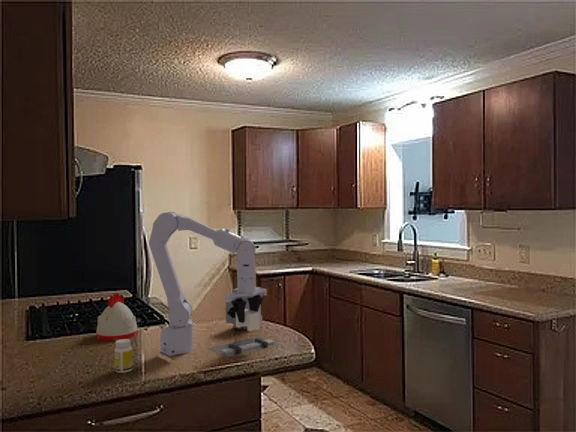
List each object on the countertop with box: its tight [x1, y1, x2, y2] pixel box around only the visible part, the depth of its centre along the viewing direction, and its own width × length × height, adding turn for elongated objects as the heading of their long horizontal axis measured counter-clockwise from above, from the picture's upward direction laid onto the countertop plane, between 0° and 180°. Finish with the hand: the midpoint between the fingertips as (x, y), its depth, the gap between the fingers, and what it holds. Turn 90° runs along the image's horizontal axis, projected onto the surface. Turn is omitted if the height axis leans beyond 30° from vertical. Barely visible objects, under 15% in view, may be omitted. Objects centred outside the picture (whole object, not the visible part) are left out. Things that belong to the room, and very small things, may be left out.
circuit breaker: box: [224, 286, 263, 330], centre depth 189 cm, size 8×14×15 cm, turn 152°
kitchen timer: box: [95, 292, 139, 341], centre depth 185 cm, size 14×14×15 cm
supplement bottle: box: [114, 338, 134, 374], centre depth 147 cm, size 5×5×8 cm
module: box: [236, 309, 261, 332], centre depth 164 cm, size 4×7×5 cm, turn 42°
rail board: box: [206, 336, 281, 358], centre depth 166 cm, size 20×12×2 cm, turn 129°
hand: (247, 321), depth 164 cm, fingers closed on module, 4 cm apart
